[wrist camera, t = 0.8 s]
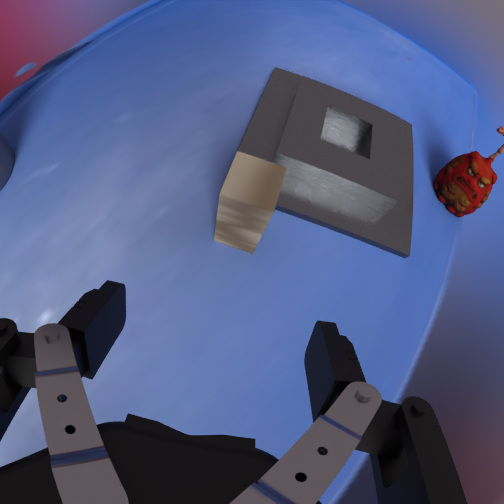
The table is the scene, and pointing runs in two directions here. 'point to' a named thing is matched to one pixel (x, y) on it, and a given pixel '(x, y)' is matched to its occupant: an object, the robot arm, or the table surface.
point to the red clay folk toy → (466, 181)
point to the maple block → (247, 201)
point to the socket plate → (337, 160)
